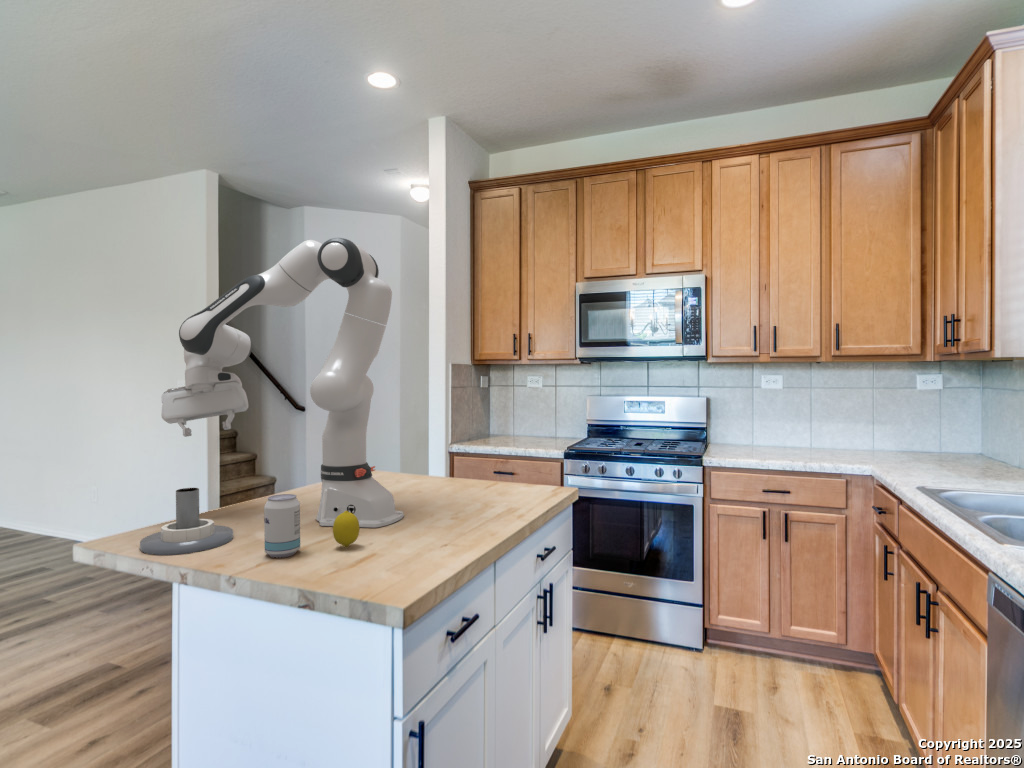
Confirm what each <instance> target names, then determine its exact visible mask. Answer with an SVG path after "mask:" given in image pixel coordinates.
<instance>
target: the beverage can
mask: <svg viewBox="0 0 1024 768" xmlns="http://www.w3.org/2000/svg"><path fill="white" fill-rule="evenodd" d="M263 511H264V512H263V513H264V514H263V515H264V516H263V517H264V520H263V521H264V523H263V524H264V527H263V528H264V553H265V554H267V555H269V556H270V558H274V557H276V558H275V559H281V557H282V558H287V557H291V556H293V555H295V554H296V552H298V551H299V550H301V503H300V501H299V499H298V498H297V494H293V493H282V494H281V493H280V494H275V495H274V494H273V495H270V496H268V497H267V500H266V503H265V504H264V508H263ZM278 557H279V558H278Z"/></svg>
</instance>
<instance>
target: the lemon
mask: <svg viewBox="0 0 1024 768" xmlns="http://www.w3.org/2000/svg"><path fill="white" fill-rule="evenodd" d="M332 535H333V538H334V540H335V541H336V543H338V545H341V546H343V547H344V548H348V547H350V545H352V544H354V543H355V542H356V541H357V539H358V538H359V535H360V527H359V522H358V519H357V517H356V516H355V515H354V514H352V513H350V512H348V511H344V512H343V513H341V514H340V515H338V516H337V518H336V519H335V521H334V525H333V526H332Z"/></svg>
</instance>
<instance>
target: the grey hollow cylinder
mask: <svg viewBox="0 0 1024 768" xmlns="http://www.w3.org/2000/svg"><path fill="white" fill-rule="evenodd" d="M199 519H200V488H198V487H185V488H184V487H183V488H179V489H177V490H175V522H176V530H179V529H190V528H197V527H200V525H199Z"/></svg>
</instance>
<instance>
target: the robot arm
mask: <svg viewBox="0 0 1024 768" xmlns="http://www.w3.org/2000/svg"><path fill="white" fill-rule="evenodd" d="M379 271H380V269H379V267H378V263H377V261H376V259H375V258H374V257H373V255H371V254H369V253H368V252H367V251H366V250H365V249H364V248H363V247H362V246H360V245H359V244H356V243H355V242H353V241H351V240H350V239H347V238H343V237H333V238H329V239H327V240H326V241H324V242H323V243H321V242H320V241H318V240H314V239H308V240H304V241H302V242H301V243H300V244H297V246H295V247H293V249H291V250H290V251H289V252H288V253H286V254H285V255H284V256H283V257H282V258H281V259H280V260H279V261H278V262H276V264H275V265H273V266H272V267H270V268H268V269H267V270H265V271H263V272H261V273H259V274H255V275H253V274H252V275H249V276H247V277H246V278H244V279H242V280H241V281H240V282H238V283H237V284H235V285H234V286H232V287H231V288H230V289H229V290H228V291H226V292H225V293H223V294H222V295H221V296H220V297H218V298H217V299H215V301H213V302H212V303H211V304H209V305H208V306H206V307H205V308H203V309H202V310H200V311H198V312H196V313H194V314H193V315H191V316H189V317H188V318H186V319H185V320H184V321H183V322H182V323H181V325H180V327H179V329H178V338H179V342H180V345H182V347H183V359H184V363H185V370H184V381H185V382H184V385H185V386H179V387H176V388H173V387H172V388H168V389H167V390H166V391H164V392H163V393H162V394H161V403H162V407H161V419H162V420H163V421H165V422H166V423H167V424H171V425H172V424H178V425H179V427H180V429H182V436H183V437H187V438H188V437H191V436H192V429H191V428H190V427H186V425H187V422H189V421H190V422H191V421H194V420H200V419H201V420H202V419H207V418H212V417H218V416H223V415H227V418H226V420H225V421H222V423H221V424H222V429H223V430H224V431H226V430H232V425H231V423H232V422H233V421H234V418H235V414H236V413H241V412H242V413H243V412H246V411H247V410H248V409H249V407H250V406H249V400H248V396H247V392H246V391H245V389H244V388H243V383H242V380H241V379H240V377H239V376H238V375H236V373H234V372H229V371H223V369H224V368H228V367H229V368H230V367H233V366H238V365H240V364H242V363H244V362H246V360H248V358H249V357H250V355H251V353H252V350H253V349H252V346H253V344H252V339H251V337H250V335H249V334H248V333H245V332H244V331H242V330H239V329H237V328H235V327H234V326H233V327H232V326H230V325H227V323H228V322H230V321H231V320H233V319H234V318H235V317H236V316H238V315H240V314H241V313H242V312H243V311H244V310H246V309H248V308H250V307H253V306H275V307H281V308H289V307H294V306H297V305H298V304H300V303H302V302H303V301H305V300H306V299H307V298H308V297H309V296H310V295H311V294H312V293H313V292H314V290H316V288H318V286H320V284H322V283H323V282H324V281H326V280H332V281H334V282H335V283H336V284H338V285H339V286H341V287H342V288H346V290H347V292H348V299H347V304H346V305H345V310H344V313H343V316H342V320H341V323H340V326H339V330H338V332H337V336H336V339H335V340H334V343H333V346H332V348H331V349H330V352H329V354H328V355H327V358H326V359H325V361H324V364H323V366H322V367H321V370H320V372H319V373H318V374H317V375H316V377H315V378H314V379H313V380H312V382H311V384H310V387H309V388H310V390H309V392H310V393H309V394H310V397H311V400H312V402H313V403H314V404H315V405H316V407H319V408H320V409H322V410H324V411H327V412H328V415H327V420H326V423H325V427H324V429H323V432H322V437H321V439H322V441H321V443H322V464H321V465H320V480H321V483H322V484H321V492H320V493H321V494H320V503H319V507H318V511H317V515H316V518H315V519H316V521H318V522H319V526H321V527H333V525H334V521H335V519H336V518H337V516H338V515H340V514H341V513H343V512H344V511H348V512H350V513H352V514H354V515H355V516H356V517H357V519H358V522H359V528H374V529H375V528H381V527H385V526H389V525H392V524H394V523H397V522H398V521H400V520H402V519H403V518H404V516H405V514H404V511H402V510H397V509H396V503H395V499H394V496H393V493H392V492H391V491H390V490H388V489H387V488H386V487H385V486H384V485H382V483H379V481H378V480H376V479H375V478H374V477H373V473H372V472H374V471H376V469H375V468H376V466H375V465H374V466H370V465H369V463H368V462H367V432H368V431H367V430H368V424H369V423H368V422H369V417H370V411H371V402H372V399H373V395H374V391H375V390H374V384H373V381H372V380H371V378H370V376H368V375H367V373H368V371H369V369H370V367H371V365H372V364H373V362H374V359H376V358H377V356H378V353H379V351H380V348H381V344H382V341H383V338H384V334H385V331H386V328H387V324H388V320H389V317H390V312H391V306H392V299H393V298H392V297H393V292H392V288H391V286H390V285H389V284H388V283H387V282H386V281H384V280H382V279H380V278H379V273H380V272H379Z"/></svg>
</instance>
